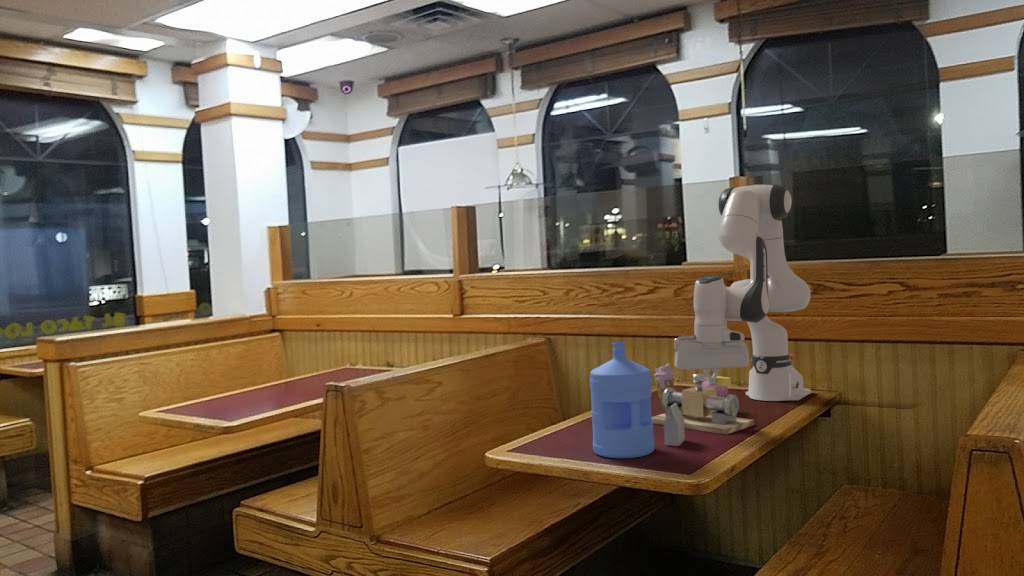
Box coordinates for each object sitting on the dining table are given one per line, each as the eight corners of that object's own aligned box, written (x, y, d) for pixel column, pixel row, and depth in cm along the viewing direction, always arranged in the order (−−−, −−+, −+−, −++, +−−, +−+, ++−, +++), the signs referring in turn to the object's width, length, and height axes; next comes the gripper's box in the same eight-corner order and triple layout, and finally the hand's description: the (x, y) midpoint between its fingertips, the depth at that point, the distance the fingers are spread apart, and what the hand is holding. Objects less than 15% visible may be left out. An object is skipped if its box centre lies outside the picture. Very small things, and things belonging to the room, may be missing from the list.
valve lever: (690, 381, 239) (690, 374, 239) (698, 380, 241) (698, 373, 241) (723, 386, 229) (723, 379, 229) (731, 384, 231) (731, 377, 231)
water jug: (582, 449, 217) (577, 342, 215) (633, 441, 223) (629, 337, 222) (612, 462, 202) (607, 348, 201) (667, 453, 209) (662, 342, 207)
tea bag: (684, 440, 222) (683, 402, 221) (678, 446, 215) (677, 408, 215) (671, 439, 223) (669, 402, 223) (664, 445, 217) (663, 407, 217)
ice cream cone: (675, 413, 256) (673, 364, 255) (654, 413, 257) (652, 365, 256) (675, 408, 262) (673, 361, 261) (655, 409, 263) (653, 362, 263)
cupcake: (722, 415, 249) (721, 382, 248) (695, 413, 253) (693, 381, 253) (732, 410, 256) (731, 377, 255) (705, 408, 261) (704, 376, 260)
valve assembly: (677, 414, 254) (675, 375, 253) (753, 425, 235) (752, 382, 234) (649, 422, 244) (647, 382, 244) (726, 434, 225) (724, 390, 224)
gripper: (676, 337, 227) (677, 387, 228) (750, 334, 228) (751, 384, 229) (670, 335, 234) (672, 384, 234) (743, 332, 234) (744, 381, 235)
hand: (712, 384), depth 231 cm, fingers closed
